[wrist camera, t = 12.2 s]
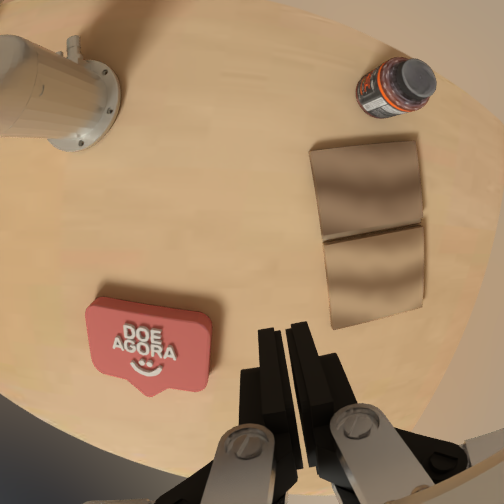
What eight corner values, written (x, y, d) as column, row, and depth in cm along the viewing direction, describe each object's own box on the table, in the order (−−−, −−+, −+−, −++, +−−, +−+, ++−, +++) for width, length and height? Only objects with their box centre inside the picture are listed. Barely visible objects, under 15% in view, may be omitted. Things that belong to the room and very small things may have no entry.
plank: (322, 242, 37) (324, 245, 36) (419, 224, 36) (423, 226, 35) (330, 325, 40) (333, 330, 39) (418, 303, 40) (422, 307, 39)
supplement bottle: (360, 67, 31) (400, 37, 20) (400, 88, 31) (449, 68, 20) (347, 107, 32) (386, 87, 21) (389, 127, 33) (438, 118, 22)
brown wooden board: (308, 151, 34) (310, 151, 33) (410, 141, 33) (415, 140, 32) (322, 239, 37) (324, 242, 36) (419, 221, 36) (423, 223, 35)
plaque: (95, 386, 40) (81, 304, 36) (103, 373, 43) (93, 293, 39) (205, 409, 40) (210, 326, 36) (208, 392, 44) (213, 311, 40)
